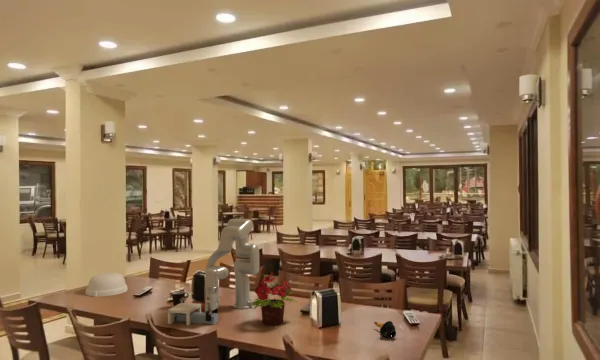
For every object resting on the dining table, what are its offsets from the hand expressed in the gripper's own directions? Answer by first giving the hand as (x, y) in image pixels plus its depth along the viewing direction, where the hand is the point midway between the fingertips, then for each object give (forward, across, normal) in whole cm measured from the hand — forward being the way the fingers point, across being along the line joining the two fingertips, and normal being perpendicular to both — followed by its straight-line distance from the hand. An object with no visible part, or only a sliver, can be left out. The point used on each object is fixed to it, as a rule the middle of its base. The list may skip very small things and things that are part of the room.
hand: (211, 318), depth 259 cm
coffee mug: (+2, +26, +34) cm, 43 cm away
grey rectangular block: (+2, 0, +9) cm, 10 cm away
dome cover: (+3, +55, +113) cm, 125 cm away
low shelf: (+2, 0, +17) cm, 17 cm away
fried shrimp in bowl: (+3, +1, -101) cm, 101 cm away
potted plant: (+2, +5, -36) cm, 36 cm away
